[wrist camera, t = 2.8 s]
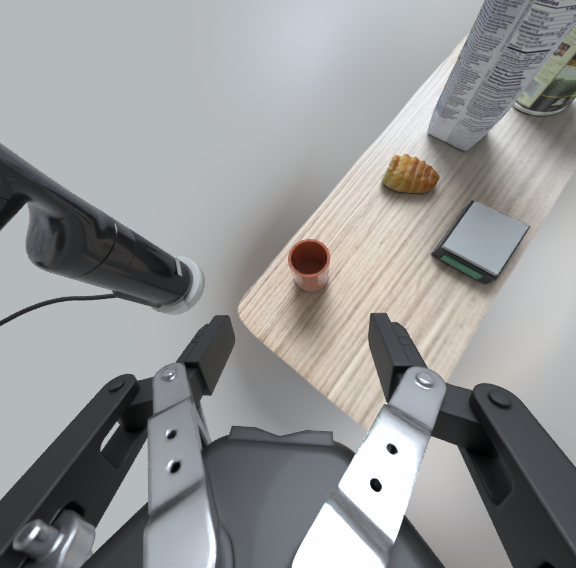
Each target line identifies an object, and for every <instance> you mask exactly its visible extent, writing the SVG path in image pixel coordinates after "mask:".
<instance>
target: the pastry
mask: <svg viewBox="0 0 576 568" xmlns="http://www.w3.org/2000/svg"><path fill="white" fill-rule="evenodd" d="M438 180H439V175H438V174H437V172H436V171H435V170H434V169H432V167H431V166H429V165H426V163H425V161H420V160H419V159H418V158H417V157H412V158H410V156H409V155H408V154H404V155H402V156H398V155H394V157H393V158H392V160H391V161H390V164H389V167H388V169H387V171H386V173H385V175H384V176H383V177H382V182H383V183H384V184H385V185H386V186H387V187H388V188H389V189H393V190H396V191H398V192H406V193H425V192H429V191H431V190H433V189H434V187H435V186H436V184H437V182H438Z"/></svg>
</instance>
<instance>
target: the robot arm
mask: <svg viewBox="0 0 576 568" xmlns="http://www.w3.org/2000/svg"><path fill="white" fill-rule="evenodd" d="M26 203H27V204H28V208H29V217H30V218H29V226H28V231H27V236H26V252H27V255H28V257H29V259H30V260H31V262H32V263H33V264H34V265H35V266H37V267H39V268H40V269H42V270H45V271H47V272H50V273H54V274H57V275H61V276H64V277H68V278H71V279H75V280H78V281H82V282H85V283H89V284H92V285H95V286H99V287H102V288H106V289H109V290H112V292H113V294H107V295H97V296H71V297H61V298H56V299H52V300H47V301H44V302H41V303H38V304H35V305H32V306H30V307H27V308H25V309H23V310H20V311H19V312H16V313H14V314H12V315H10V316H9V317H7V318H5V319H3V320H1V321H0V326H1V325H3V324H5V323H7V322H9V321H11V320H12V319H14V318H16V317H18V316H20V315H22V314H24V313H27V312H29V311H31V310H34V309H37V308H40V307H42V306H46V305H49V304H53V303H57V302H63V301H72V300H98V299H107V298H116V297H117V298H121V299H125V300H129V301H133V302H136V303H140V304H144V305H147V306H151V307H155V308H160V307H161V306H172V305H175V304H178V303H179V302H181V301H182V300H183V299H185V297H186V296H187V295H188V294H189V292H190V290H191V288H192V285H193V274H192V271H191V269H190V268H189V267H188V266H187V265H186V264H185V263H183V262H181V261H179V259H178V258H176V257H175V258H174V257H173V256H171V255H170V254H168V253H166V252H165V251H163V250H162V249H160V248H159V247H157V246H156V245H154V244H152V243H151V242H149V241H148V240H146V239H145V238H143V237H142V236H140V235H138V234H137V233H135V232H134V231H132V230H131V229H129V228H127V227H126V226H124V225H123V224H121V223H119V222H118V221H116V220H115V219H113V218H112V217H110V216H108V215H107V214H106V213H104V212H102V211H101V210H99V209H98V208H96V207H94V206H93V205H91V204H89V203H88V202H86V201H84V200H83V199H81V198H80V197H78V196H77V195H75V194H73V193H72V192H70V191H69V190H67V189H66V188H64V187H63V186H61V185H60V184H58V183H57V182H55V181H54V180H52V179H51V178H49V177H48V176H47V175H45V174H44V173H42V172H41V171H39V170H38V169H36V168H35V167H34V166H32V165H31V164H29V163H28V162H27V161H25V160H24V159H22V158H21V157H19V156H18V155H17V154H15V153H14V152H12V151H11V150H9V149H8V148H7V147H5V146H4V145H3V144H1V143H0V231H1V230H2V229H3V228H4V226H5V225H6V224H7V223H8V222H9V221H10V220H11V219H12V218H13V217H14V216H15V215H16V214H17V212H18V211H19V210H20V209H21V208H22V207H23V206H24V205H25V204H26ZM368 341H369V347H370V350H371V353H372V357H373V360H374V363H375V366H376V370H377V373H378V376H379V379H380V383H381V386H382V389H383V392H384V396H385V399H386V402H387V403H388V404H387V405H386V404H384V405H383V407H382V408H381V410H380V412H379V413H378V415H377V417H376V419H375V421H374V422H373V424H372V426H371V428H370V429H369V431H368V433H367V435H366V437H365V438H364V440H363V442H362V444H361V445H360V447H359V449H358V451H357V453H354V452H353V451H352V450H351V449H349V448H348V447H346V446H345V445H343V444H341V443H339V442H336V441H334V440H333V432H329V431H311V430H306V431H301V432H296V433H292V434H288V435H283V436H278V435H275V434H272V433H269V432H267V431H264V430H262V429H259V428H256V427H242V426H232V428H231V431H230V434H229V435H226V436H224V437H221V438H219V439H217V440H215V441H213V442H211V439H210V436H209V432H208V428H207V424H206V420H205V416H204V412H203V408H202V405H201V402H200V400H201V398H202V396H203V395H210V396H211V395H212V393H213V391H214V389H215V386H216V384H217V382H218V380H219V378H220V375H221V373H222V371H223V369H224V367H225V364H226V362H227V360H228V358H229V356H230V354H231V351H232V349H233V347H234V344H235V335H234V331H233V327H232V324H231V320H230V317H229V316H228V315H219V316H218V315H216V316H214V317H213V319H212V320H211V322H210V323H209V324H206V325H205V326H203V327H202V328H201V329H200V330H199V331H198V332H197V333H196V335H195V336H194V338H193V339H192V340H191V342H190V343H189V344H188V346H187V347H186V349H185V350H184V351H183V353H182V355H181V356H180V357H179V359H178V360H177V361H176V363H172V364H169V365H167V366H165V367H163V368H162V369H160V370H159V371H158V372H157V373H156V374H155V376H154V377H151V378H147V379H143V380H139V381H137V379H136V378H135V376H134V375H132V374H124V375H121V376H118V377H116V378H114V379H112V380H111V381H110V382H108V383H107V384H106V385H105V386H104V387H103V388H102V389H101V390H100V391H99V392H98V393H97V394H96V395H95V397H94V398H93V399H92V400H91V401H90V402H89V403H88V404H87V405H86V407H85V408H84V409H83V410H82V411H81V412H80V413H79V414H78V415H77V417H76V418H75V419H74V420H73V421H72V422H71V423H70V424H69V425H68V426H67V427H66V429H65V430H64V431H63V432H62V433H61V434H60V435H59V436H58V437H57V438H56V440H55V441H54V442H53V443H52V444H51V445H50V446H49V447H48V448H47V450H46V451H45V452H44V453H43V454H42V455H41V456H40V457H39V458H38V459H37V460H36V462H35V463H34V464H33V465H32V466H31V467H30V468H29V469H28V471H27V472H26V473H25V474H24V475H23V476H22V477H21V478H20V479H19V480H18V481H17V483H16V484H15V485H14V486H13V487H12V488H11V489H10V490H9V492H8V493H7V494H6V495H5V496H4V497H3V498H2V499H1V500H0V568H445V567H444V565H443V564H442V563H441V561H440V560H439V559H438V557H437V556H436V555H435V554H434V552H433V551H432V550H431V548H430V547H429V546H428V545H427V543H426V542H425V541H424V539H423V538H422V537H421V535H420V534H419V533H418V531H417V530H416V529H415V528H414V526H413V525H412V524H411V522H410V521H409V520H408V519H407V517H406V516H405V515H404V513H405V510H406V507H407V504H408V501H409V498H410V495H411V492H412V489H413V486H414V484H415V481H416V478H417V475H418V472H419V469H420V466H421V463H422V460H423V457H424V454H425V451H426V448H427V445H428V442H429V439H430V436H433V437H436V438H439V439H441V440H444V441H447V442H449V443H452V444H455V445H457V446H458V448H459V450H460V452H461V454H462V457H463V459H464V461H465V463H466V465H467V468H468V470H469V472H470V474H471V477H472V479H473V481H474V483H475V485H476V487H477V490H478V491H479V494H480V496H481V498H482V501H483V503H484V505H485V507H486V509H487V511H488V514H489V516H490V518H491V520H492V522H493V525H494V527H495V529H496V531H497V533H498V536H499V538H500V540H501V542H502V544H503V546H504V549H505V551H506V552H507V555H508V557H509V559H510V562H511V564H512V566H513V568H576V467H575V466H574V465H573V463H572V462H571V461H570V460H569V459H568V457H567V456H566V455H565V454H564V452H563V451H562V450H561V449H560V448H559V447H558V445H557V444H556V443H555V441H554V440H553V439H552V438H551V437H550V435H549V434H548V433H547V432H546V430H545V429H544V428H543V427H542V426H541V424H540V423H539V422H538V421H537V419H536V418H535V417H534V416H533V415H532V413H531V412H530V411H529V410H528V408H527V407H526V406H525V405H524V404H523V402H522V401H521V400H520V399H519V398H517V397H516V396H515V395H514V394H513V393H511V392H509V391H508V390H506V389H504V388H502V387H499V386H496V385H493V384H488V383H487V384H486V383H482V384H478V385H476V386H475V387H474V389H473V390H469V389H465V388H462V387H457V386H454V385H451V384H448V383H446V382H444V380H443V379H442V377H440V376H439V375H438V374H437V373H436V372H434V371H432V370H430V369H428V368H427V366H426V364H425V362H424V360H423V359H422V357H421V355H420V353H419V352H418V350H417V348H416V346H415V345H414V344H413V341H412V339H411V338H410V336H409V334H408V332H407V331H406V329H405V328H404V327H403V326H401V325H400V324H399V323H398V322H391V321H390V319H389V317H388V315H387V314H386V313H371V314H370V322H369V333H368ZM116 422H118V423H119V424H120V426H119V427H118V428H117V430H116V431H115V433H114V434H113V435H112V437H111V438H110V440H109V441H108V443H107V444H106V446H105V447H104V448H103V450H102V451H101V452H100V448H101V444H102V442H103V440H104V438H105V437H106V436H107V434H108V433H109V431H110V430H111V429H112V427H113V426H114V424H115V423H116ZM147 437H148V502H147V503H146V504H145V505H144V506H143V507H142V508H141V509H140V510H139V511H138V512H137V513H135V515H134V516H132V517H131V519H129V520H128V521H127V522H126V523H125V524H124V525H123V526H122V527H121V528H120V529H119V530H118V531H117V532H116V533H115V534H114V535H113V536H112V537H111V538H109V540H107V541H106V543H104V544H103V545H102V546H101V547H100V548H99V549H98V550H97V551H96V552H95V553H94V554H92V550H91V549H92V546H93V544H94V540H95V529H96V527H97V525H98V523H99V521H100V520H101V518H102V516H103V515H104V512H105V511H106V509H107V508H108V506H109V504H110V502H111V500H112V499H113V497H114V495H115V493H116V492H117V490H118V488H119V487H120V485H121V483H122V481H123V479H124V478H125V476H126V474H127V472H128V471H129V469H130V467H131V465H132V464H133V462H134V460H135V458H136V457H137V455H138V453H139V451H140V449H141V448H142V446H143V444H144V443H145V441H146V439H147Z"/></svg>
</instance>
